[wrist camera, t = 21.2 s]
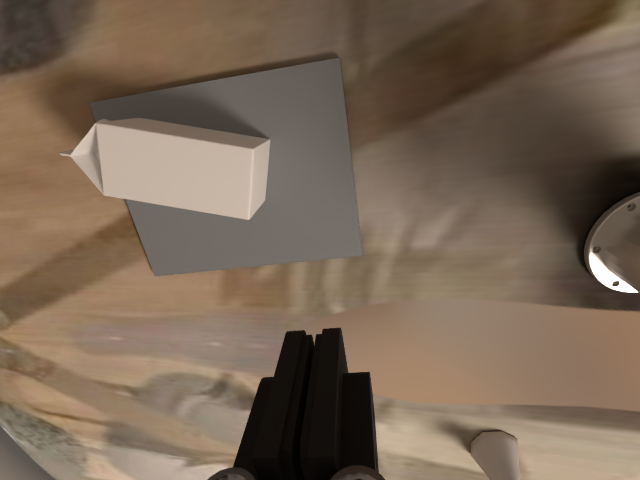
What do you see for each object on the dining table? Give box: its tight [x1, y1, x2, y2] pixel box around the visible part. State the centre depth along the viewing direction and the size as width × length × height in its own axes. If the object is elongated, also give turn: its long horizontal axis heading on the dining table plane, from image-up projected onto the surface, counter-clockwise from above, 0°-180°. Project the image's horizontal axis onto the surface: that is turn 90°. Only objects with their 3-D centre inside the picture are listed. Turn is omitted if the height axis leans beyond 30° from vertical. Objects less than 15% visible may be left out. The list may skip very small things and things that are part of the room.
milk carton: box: [60, 118, 270, 220], centre depth 36 cm, size 7×7×19 cm
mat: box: [89, 58, 363, 276], centre depth 40 cm, size 28×22×1 cm
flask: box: [471, 431, 521, 480], centre depth 50 cm, size 7×7×10 cm
